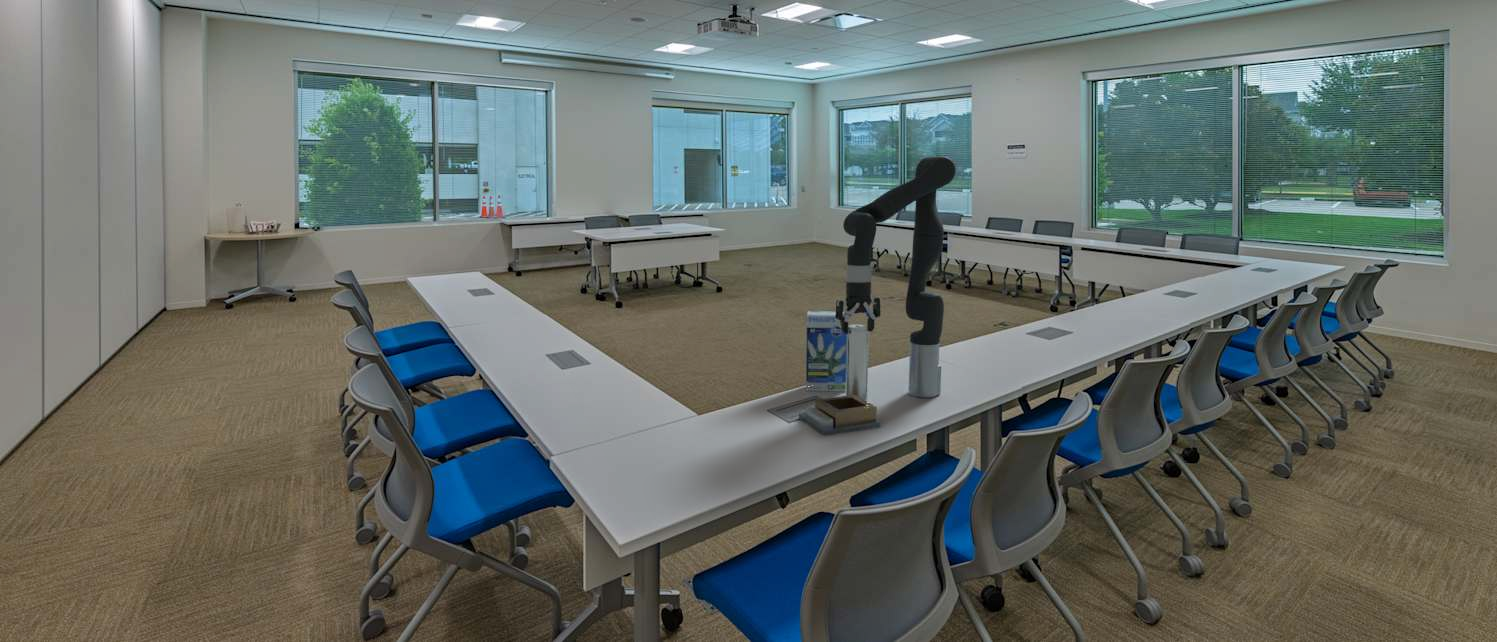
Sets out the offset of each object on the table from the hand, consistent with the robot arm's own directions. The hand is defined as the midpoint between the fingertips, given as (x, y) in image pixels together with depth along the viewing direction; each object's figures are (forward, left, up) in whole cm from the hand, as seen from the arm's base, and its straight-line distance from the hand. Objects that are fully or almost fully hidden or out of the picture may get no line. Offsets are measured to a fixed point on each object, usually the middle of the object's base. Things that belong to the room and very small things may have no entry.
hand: (857, 332), depth 224 cm
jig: (+13, +13, -23) cm, 29 cm away
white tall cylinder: (0, 0, -23) cm, 23 cm away
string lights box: (+1, -19, -23) cm, 30 cm away
